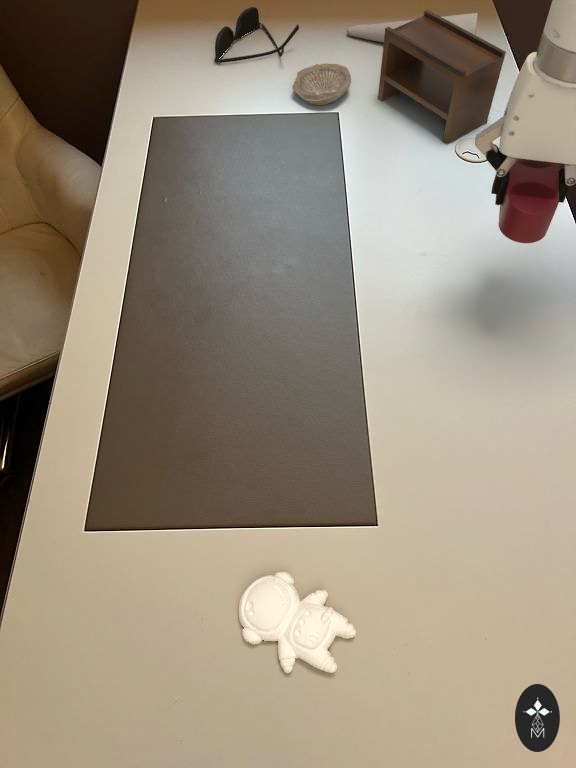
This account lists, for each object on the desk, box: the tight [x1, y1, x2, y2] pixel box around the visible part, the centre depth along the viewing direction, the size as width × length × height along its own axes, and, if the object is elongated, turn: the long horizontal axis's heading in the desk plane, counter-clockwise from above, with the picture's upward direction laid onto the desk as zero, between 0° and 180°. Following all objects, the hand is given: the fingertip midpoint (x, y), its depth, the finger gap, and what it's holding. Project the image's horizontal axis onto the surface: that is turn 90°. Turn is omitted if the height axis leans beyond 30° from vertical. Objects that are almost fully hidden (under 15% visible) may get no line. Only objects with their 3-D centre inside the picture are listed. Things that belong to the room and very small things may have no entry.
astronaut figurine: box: [238, 571, 357, 674], centre depth 63 cm, size 9×12×3 cm
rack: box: [377, 9, 507, 145], centre depth 109 cm, size 10×18×13 cm, turn 37°
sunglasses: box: [213, 6, 300, 64], centre depth 124 cm, size 17×14×5 cm
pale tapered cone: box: [346, 12, 479, 44], centre depth 124 cm, size 8×9×26 cm
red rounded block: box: [498, 158, 560, 244], centre depth 75 cm, size 14×6×4 cm, turn 166°
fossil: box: [292, 63, 352, 106], centre depth 117 cm, size 10×12×3 cm
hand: (525, 199), depth 76 cm, fingers closed on red rounded block, 5 cm apart
